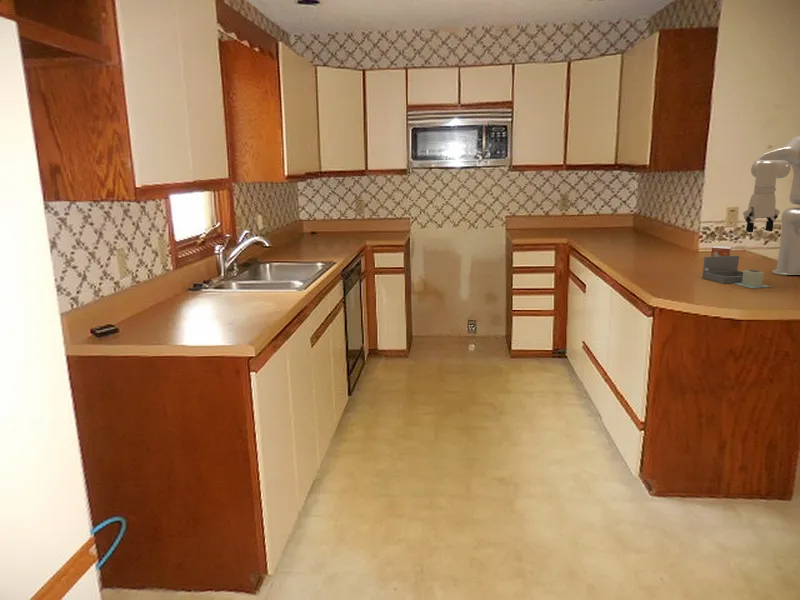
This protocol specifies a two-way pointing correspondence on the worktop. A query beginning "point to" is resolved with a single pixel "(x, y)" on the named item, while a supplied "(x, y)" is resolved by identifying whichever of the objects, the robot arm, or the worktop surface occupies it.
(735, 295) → the worktop surface
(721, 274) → the grey open box
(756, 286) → the mat
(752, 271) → the block
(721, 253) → the small box
